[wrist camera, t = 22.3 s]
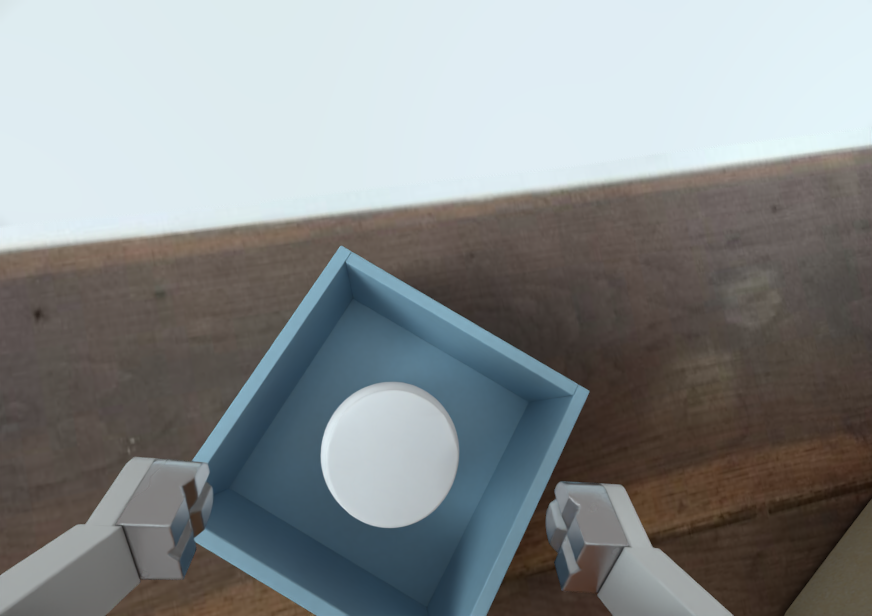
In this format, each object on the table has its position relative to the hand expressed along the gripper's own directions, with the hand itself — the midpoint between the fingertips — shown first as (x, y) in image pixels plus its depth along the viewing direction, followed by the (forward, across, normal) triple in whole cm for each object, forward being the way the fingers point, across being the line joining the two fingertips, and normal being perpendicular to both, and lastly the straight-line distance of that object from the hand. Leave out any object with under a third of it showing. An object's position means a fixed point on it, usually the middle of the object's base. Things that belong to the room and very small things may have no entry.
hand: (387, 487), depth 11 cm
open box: (+11, 0, +11) cm, 16 cm away
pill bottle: (+11, 0, +10) cm, 15 cm away
